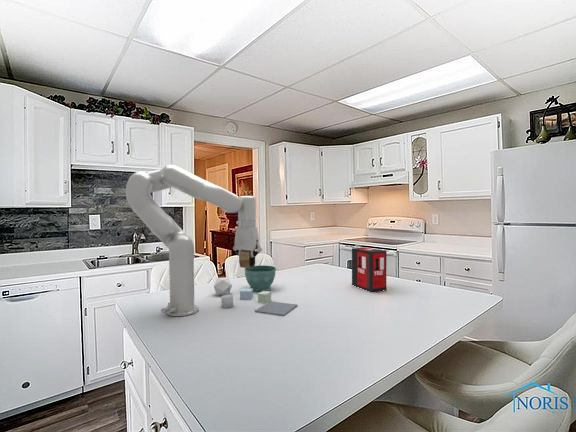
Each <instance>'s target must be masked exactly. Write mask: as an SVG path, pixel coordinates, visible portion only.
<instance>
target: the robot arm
mask: <svg viewBox="0 0 576 432" xmlns="http://www.w3.org/2000/svg"><path fill="white" fill-rule="evenodd" d="M170 188H173V189H175V190H178V191H179V192H182V193H183V194H185V195H188V196H190V197H191V198H194V199H196V200H200V201H203V202H206V203H207V202H208V203H210V204H212V205H214V206H216V207H219V208H220V210H222V211H223V212H224V213H230V214H231V213H232V214H233V213H237V215H238V217H237V221H236V225H238V226H237V227H236V229H235V236H234V245H233V247H232V249H233V251H235V253H236V254H237V257H239V259H238V264H240V251H244V250H247V251H250V254H251V257H250V267H252V266H256V265H255V264H256V257H257V255H258V254H259V253H260V252H262V251H263V248H262V247H261V245H260V241H259V240H260V239H259V231H258V227H257V224H256V223H257V221H256V220H257V216H256V214H257V213H256V212H257V210H256V207H257V206H256V205H257V204H256V203H257V202H256V201H257V198H256V197H255V196H253V195H240V196H238V195H236V194H235V193H233V192H231V191H229V190H227V189H225V188H224V187H221V186H219V185H216V184H214V183H212V182H210V181H208V180H206V179H203V178H201V177H200V176H199V175H195V174H193V172H192V173H191V172H190V171H189V170H185V169H184V168H182V167H180V166H177V165H175V164H167V165H165V166H164V167H162V168H160V169H156V170H153V171H149V172H146V171H136V172H134V173H132V174H131V175H130V176H129V178H128V180H127V182H126V187H125V198H126V200H127V204H128V205H129V208H131V210H132V211H133V212H134V214H135V215H137V217H138V218H139V219H140V220H141V221H142V222H143V223H144V224H145V225H146V226H147V228H148V229H149V230H150V232H151V233H152V234H153V235H154V236H155V237H157V238H158V239H159V241H160V242H162V244H163V245H164V246H165V247H166V248H167V249H168V268H169V269H168V270H169V272H168V274H169V302H168V303H167V306H164V307H162V308H161V309H160V312H161V314H166V315H167V316H170V317H184V316H190V315H193V314H195V313H197V312H199V306H198V305H196V304H195V244H194V240H193V239H192V238H191V237H190V236H189V235H188V234H187V233H186V232H185V231H184V230H183V229H182V228H181V227H180V226H179V225H178V223H176V221H175V220H174V219H173V217H172V216H170V215H169V214H167V213H166V211H165V210H163V209H162V207H161V205H159V204H158V202H157V201H156V200H155V199H154V198H153V197H152V195H151V193H155V192H160V191H163V190H166V189H170Z"/></svg>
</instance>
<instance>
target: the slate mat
mask: <svg viewBox="0 0 576 432" xmlns="http://www.w3.org/2000/svg"><path fill="white" fill-rule="evenodd" d="M297 307H298V304H296V303H288V302H287V303H286V302H278V301H273V300H271V301H269V302H267V303H264V304H263V305H261V306H260V307H258V308H257V309H255V310H254V312H255V313H257V314H258V313H259V314H266V315H272V316H273V315H274V316H279V317H280V316H281V317H285V316H286V315H287V314H289V313H290V312H292V311H293V310H294V309H295V308H297Z"/></svg>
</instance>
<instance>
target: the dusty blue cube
mask: <svg viewBox="0 0 576 432" xmlns="http://www.w3.org/2000/svg"><path fill="white" fill-rule="evenodd" d="M253 297H254V290H253V289H251V288H241V289H240V291H239V300H243V301H246V300H248V301H249V300H250V301H251V300H252V299H253Z"/></svg>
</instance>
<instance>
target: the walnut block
mask: <svg viewBox="0 0 576 432" xmlns="http://www.w3.org/2000/svg"><path fill="white" fill-rule="evenodd" d="M250 257H251V254H250V251H247V250H244V251H240V263H239V268H244V269H245V268H251V267H250ZM252 267H254V266H252Z"/></svg>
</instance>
